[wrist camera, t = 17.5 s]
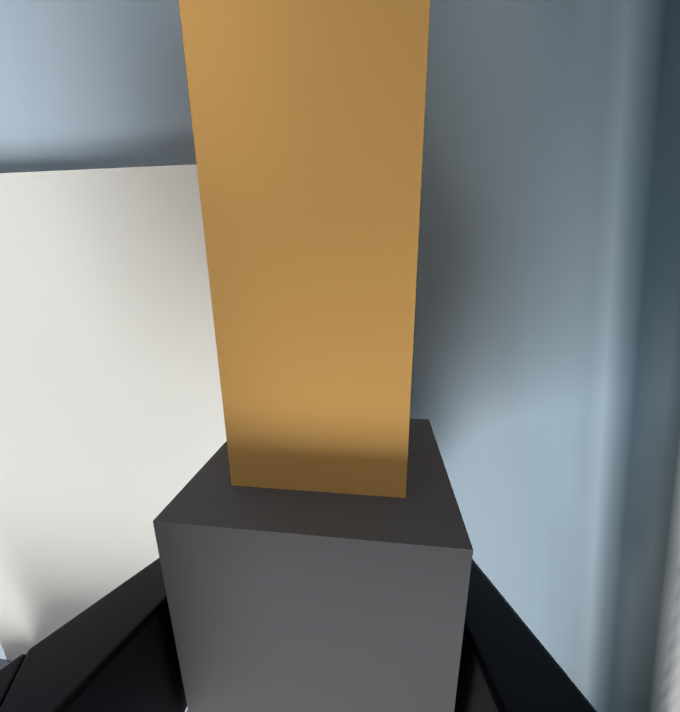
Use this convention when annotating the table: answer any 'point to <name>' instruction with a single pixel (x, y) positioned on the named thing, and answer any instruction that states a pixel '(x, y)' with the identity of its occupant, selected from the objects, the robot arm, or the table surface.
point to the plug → (314, 373)
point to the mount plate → (97, 381)
